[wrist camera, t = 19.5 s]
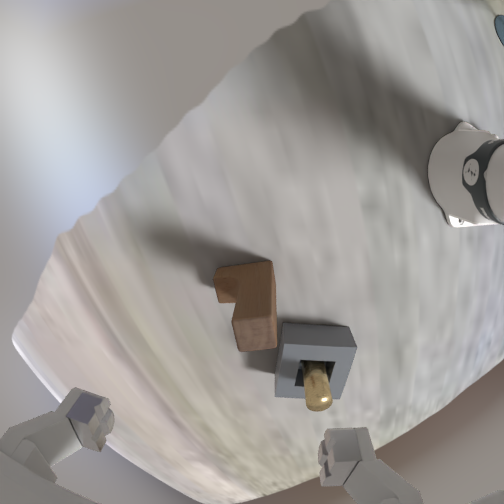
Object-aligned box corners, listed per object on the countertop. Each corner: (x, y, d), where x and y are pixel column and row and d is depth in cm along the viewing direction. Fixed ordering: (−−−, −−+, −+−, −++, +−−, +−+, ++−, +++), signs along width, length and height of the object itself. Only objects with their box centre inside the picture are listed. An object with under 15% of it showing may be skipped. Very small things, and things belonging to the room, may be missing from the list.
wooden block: (222, 292, 51) (200, 356, 34) (217, 267, 50) (190, 323, 33) (276, 285, 50) (277, 349, 33) (272, 259, 49) (272, 315, 32)
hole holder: (348, 326, 52) (357, 347, 45) (334, 377, 55) (339, 399, 49) (283, 322, 52) (284, 343, 46) (274, 374, 56) (274, 396, 50)
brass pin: (324, 348, 52) (335, 394, 40) (320, 365, 53) (329, 411, 41) (302, 347, 52) (309, 393, 40) (299, 364, 53) (303, 411, 41)
